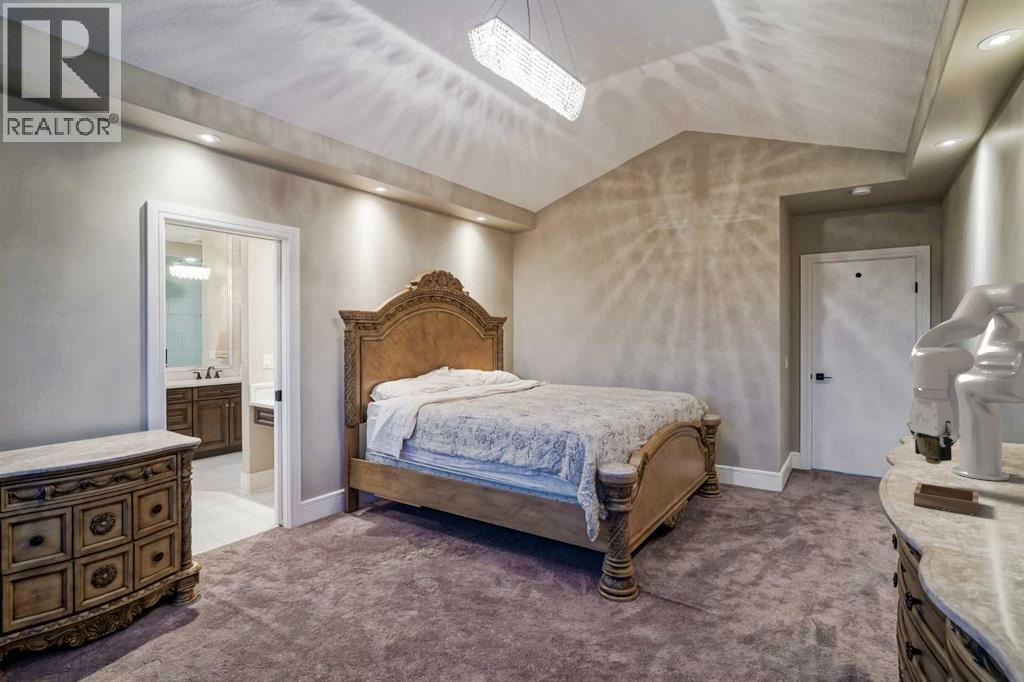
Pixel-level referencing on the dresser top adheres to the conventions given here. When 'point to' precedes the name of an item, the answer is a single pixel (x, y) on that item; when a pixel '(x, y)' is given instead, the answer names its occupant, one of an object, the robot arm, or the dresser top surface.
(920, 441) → the olive round vessel
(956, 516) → the dresser top surface
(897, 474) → the dresser top surface
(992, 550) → the dresser top surface
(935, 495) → the box
